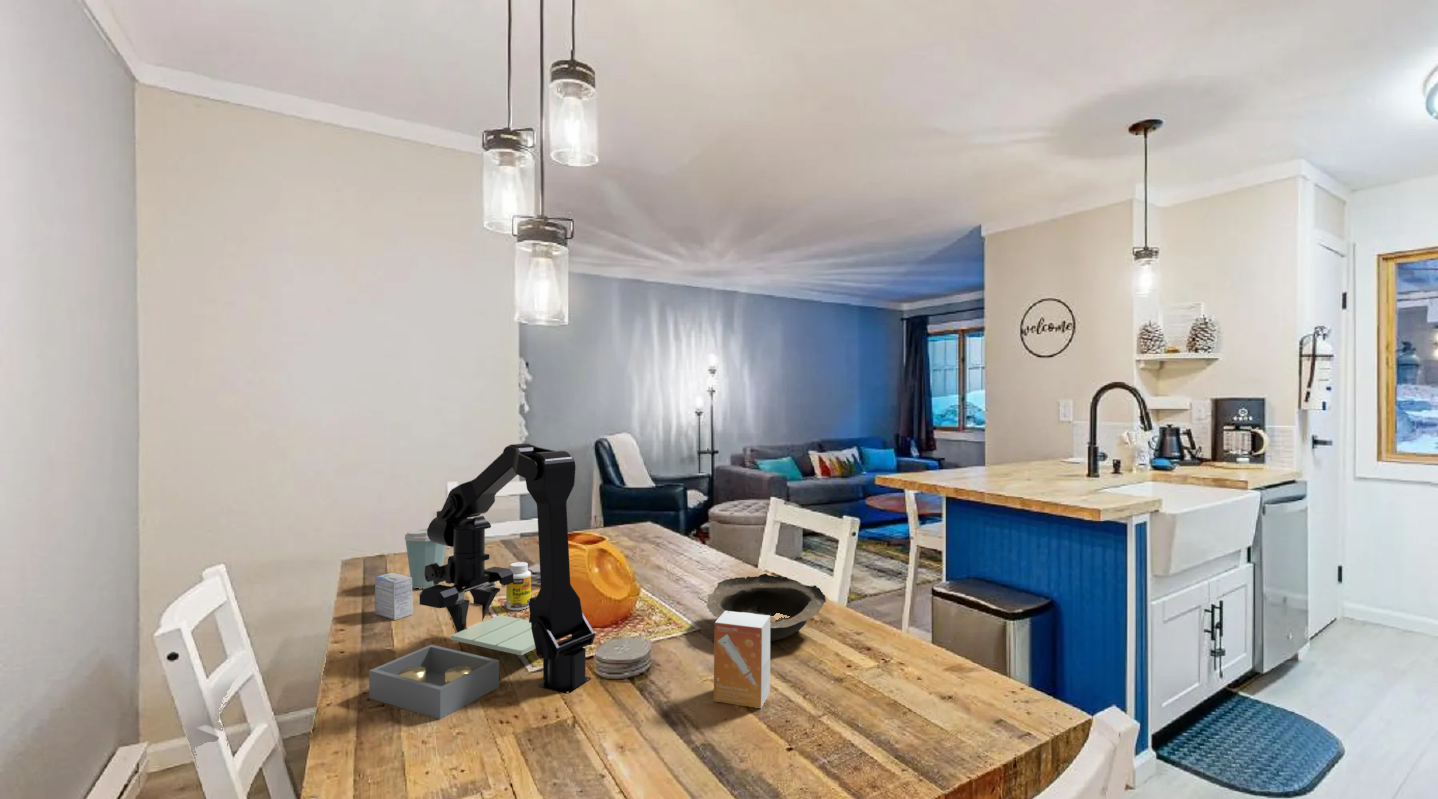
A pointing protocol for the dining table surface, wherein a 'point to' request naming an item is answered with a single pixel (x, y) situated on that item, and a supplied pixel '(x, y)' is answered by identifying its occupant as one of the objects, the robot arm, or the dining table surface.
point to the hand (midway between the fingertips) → (469, 629)
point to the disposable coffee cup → (422, 556)
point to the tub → (434, 681)
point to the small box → (742, 658)
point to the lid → (496, 632)
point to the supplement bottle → (519, 587)
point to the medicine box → (393, 596)
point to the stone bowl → (768, 601)
